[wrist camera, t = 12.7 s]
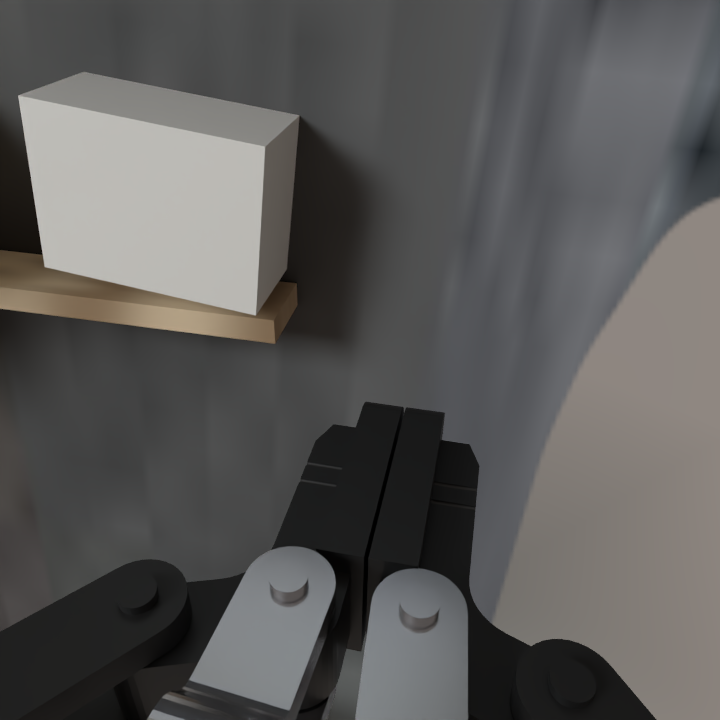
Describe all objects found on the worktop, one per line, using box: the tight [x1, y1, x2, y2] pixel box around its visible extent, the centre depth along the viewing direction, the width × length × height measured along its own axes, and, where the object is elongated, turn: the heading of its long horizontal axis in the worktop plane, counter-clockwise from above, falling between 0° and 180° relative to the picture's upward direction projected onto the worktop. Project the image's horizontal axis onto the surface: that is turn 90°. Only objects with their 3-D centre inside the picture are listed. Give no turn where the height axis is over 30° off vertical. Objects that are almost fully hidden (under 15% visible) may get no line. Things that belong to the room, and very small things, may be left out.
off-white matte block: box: [18, 72, 299, 316], centre depth 24 cm, size 8×6×4 cm
